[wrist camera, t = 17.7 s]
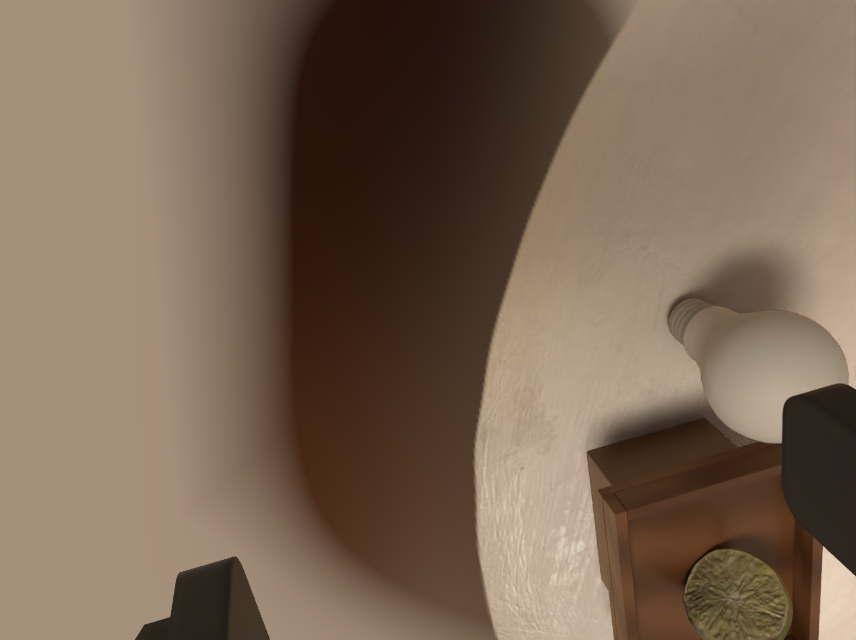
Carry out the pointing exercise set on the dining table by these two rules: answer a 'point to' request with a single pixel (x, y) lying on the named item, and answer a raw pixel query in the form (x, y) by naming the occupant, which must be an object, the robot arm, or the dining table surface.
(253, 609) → the robot arm
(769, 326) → the lightbulb
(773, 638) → the lime
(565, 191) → the dining table surface
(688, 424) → the tray
